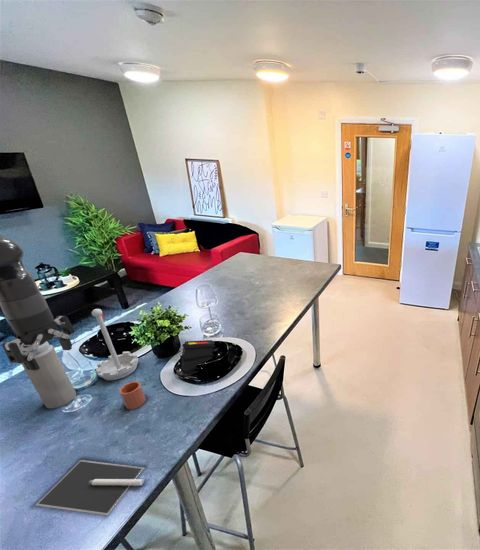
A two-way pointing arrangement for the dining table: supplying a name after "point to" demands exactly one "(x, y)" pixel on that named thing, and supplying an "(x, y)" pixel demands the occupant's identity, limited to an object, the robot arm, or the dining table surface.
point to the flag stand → (114, 356)
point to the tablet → (89, 488)
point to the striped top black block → (195, 355)
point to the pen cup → (132, 395)
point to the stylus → (116, 481)
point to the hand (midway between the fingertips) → (52, 359)
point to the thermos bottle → (50, 377)
